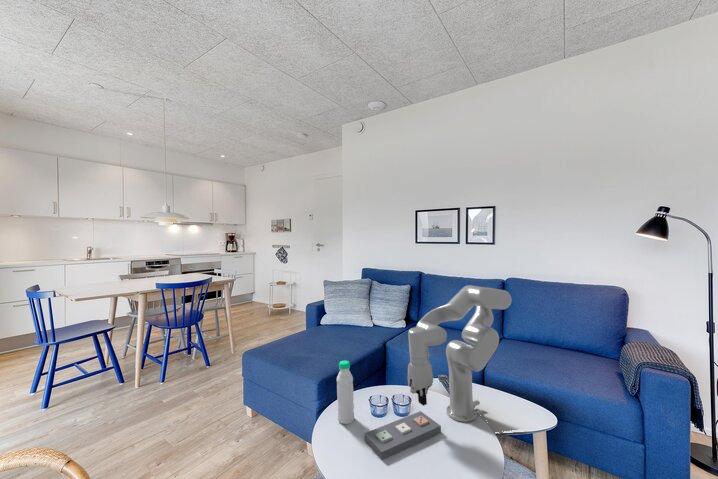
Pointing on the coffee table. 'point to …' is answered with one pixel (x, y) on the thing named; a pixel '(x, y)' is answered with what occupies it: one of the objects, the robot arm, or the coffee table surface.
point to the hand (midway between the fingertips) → (422, 403)
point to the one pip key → (403, 428)
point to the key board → (401, 436)
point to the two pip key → (383, 436)
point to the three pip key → (420, 421)
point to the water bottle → (345, 394)
